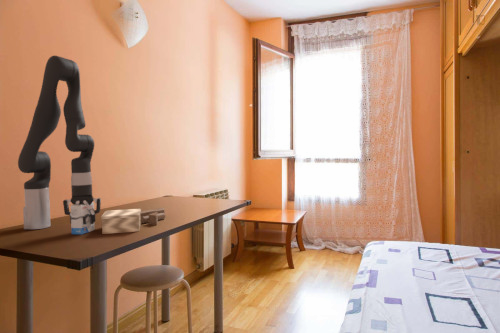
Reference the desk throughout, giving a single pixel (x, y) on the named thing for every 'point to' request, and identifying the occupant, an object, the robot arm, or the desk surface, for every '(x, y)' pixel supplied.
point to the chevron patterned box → (121, 221)
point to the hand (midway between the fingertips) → (83, 224)
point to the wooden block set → (152, 216)
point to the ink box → (81, 219)
